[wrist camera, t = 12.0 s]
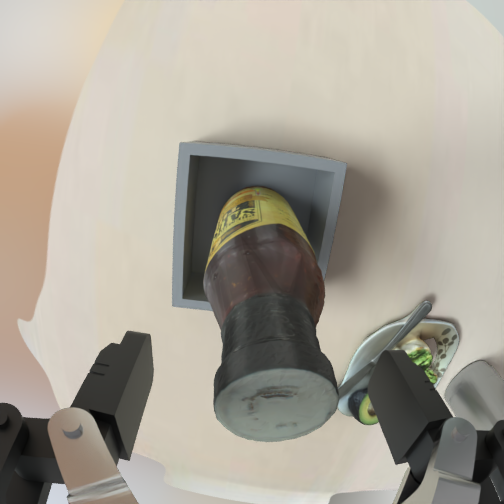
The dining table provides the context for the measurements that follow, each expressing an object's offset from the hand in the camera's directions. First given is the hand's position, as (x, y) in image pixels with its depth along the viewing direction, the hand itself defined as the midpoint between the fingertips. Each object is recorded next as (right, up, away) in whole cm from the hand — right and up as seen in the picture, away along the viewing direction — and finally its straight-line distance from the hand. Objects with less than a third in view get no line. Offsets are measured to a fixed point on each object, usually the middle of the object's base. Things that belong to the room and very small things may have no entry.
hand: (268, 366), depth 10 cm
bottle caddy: (-1, +7, +18) cm, 19 cm away
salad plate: (+18, -12, +26) cm, 34 cm away
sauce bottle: (0, +7, +17) cm, 19 cm away
